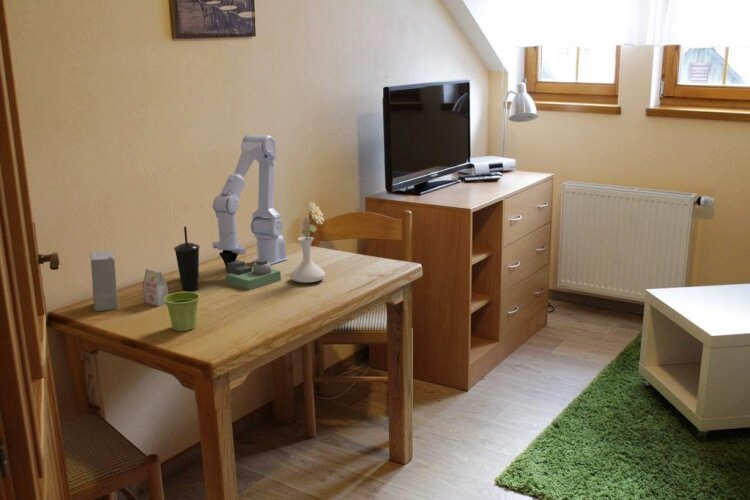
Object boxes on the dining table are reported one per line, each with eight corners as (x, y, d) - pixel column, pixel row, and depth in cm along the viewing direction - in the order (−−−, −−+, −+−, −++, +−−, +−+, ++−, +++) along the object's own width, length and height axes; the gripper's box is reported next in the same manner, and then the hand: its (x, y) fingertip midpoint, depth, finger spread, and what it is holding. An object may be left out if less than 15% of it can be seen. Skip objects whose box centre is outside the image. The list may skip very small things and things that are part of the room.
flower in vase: (309, 288, 240) (305, 208, 233) (282, 282, 246) (278, 204, 240) (336, 277, 250) (333, 201, 243) (309, 272, 256) (306, 197, 250)
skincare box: (93, 303, 229) (87, 252, 225) (118, 300, 232) (113, 249, 228) (94, 312, 222) (87, 259, 218) (120, 309, 224) (114, 256, 220)
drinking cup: (196, 293, 236) (191, 230, 231) (173, 292, 238) (167, 229, 233) (207, 286, 244) (202, 224, 238) (184, 285, 245) (178, 223, 240)
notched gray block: (238, 276, 253) (237, 259, 252) (252, 280, 249) (251, 263, 247) (227, 279, 250) (226, 262, 249) (241, 283, 245) (240, 266, 244)
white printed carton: (154, 299, 232) (151, 267, 230) (169, 303, 228) (166, 271, 225) (144, 302, 229) (141, 270, 227) (158, 306, 225) (155, 274, 223)
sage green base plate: (258, 274, 255) (257, 254, 254) (280, 280, 248) (279, 259, 246) (226, 283, 246) (225, 262, 244) (249, 290, 239) (247, 268, 237)
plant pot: (205, 321, 213) (202, 291, 211) (198, 333, 204) (196, 302, 202) (170, 322, 213) (168, 292, 210) (163, 334, 204) (159, 303, 201)
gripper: (203, 231, 250) (207, 271, 254) (231, 237, 241) (234, 279, 244) (221, 227, 255) (224, 266, 259) (249, 233, 246) (252, 274, 249)
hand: (230, 272), depth 252 cm, fingers closed
